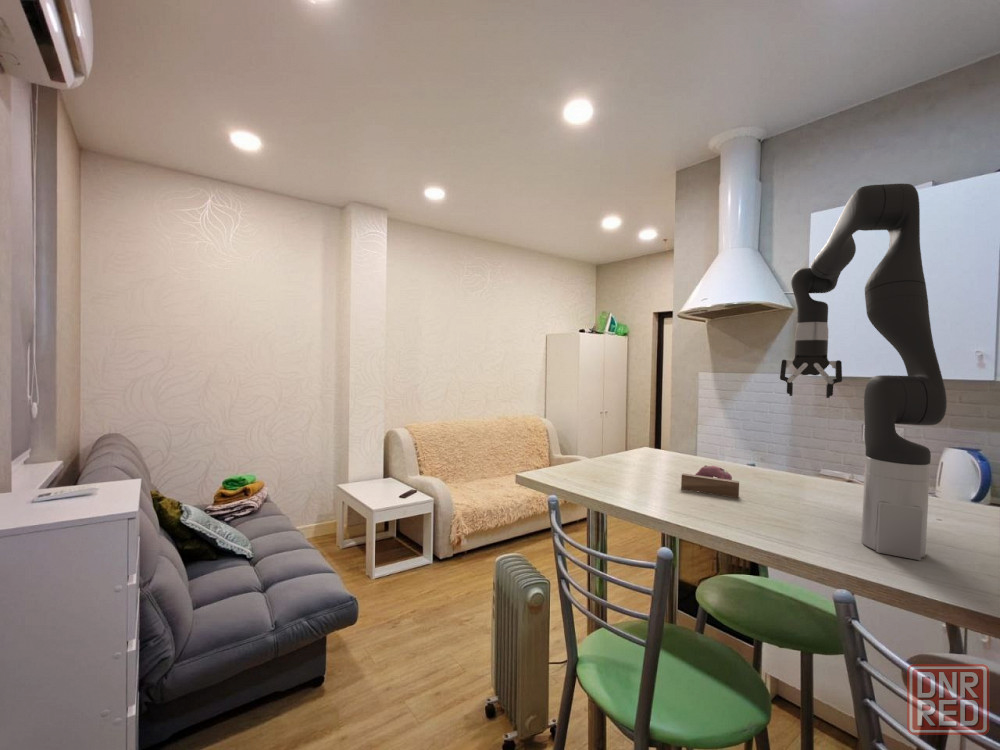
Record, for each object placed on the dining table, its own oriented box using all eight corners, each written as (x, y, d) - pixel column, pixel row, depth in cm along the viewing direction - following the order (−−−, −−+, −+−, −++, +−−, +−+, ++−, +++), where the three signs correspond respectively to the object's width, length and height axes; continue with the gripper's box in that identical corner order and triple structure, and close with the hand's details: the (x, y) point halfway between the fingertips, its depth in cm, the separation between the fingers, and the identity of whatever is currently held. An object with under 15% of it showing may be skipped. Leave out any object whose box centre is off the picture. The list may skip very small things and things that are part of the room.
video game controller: (728, 497, 121) (737, 473, 122) (717, 491, 119) (726, 467, 120) (699, 487, 130) (708, 465, 131) (689, 481, 129) (698, 459, 129)
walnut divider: (738, 498, 115) (739, 482, 115) (681, 489, 122) (681, 474, 122) (738, 496, 117) (739, 481, 116) (682, 487, 124) (682, 473, 124)
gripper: (781, 338, 124) (779, 396, 125) (845, 338, 117) (842, 399, 117) (781, 340, 131) (779, 394, 131) (841, 339, 123) (839, 397, 123)
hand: (809, 396), depth 124 cm, fingers open, 8 cm apart
